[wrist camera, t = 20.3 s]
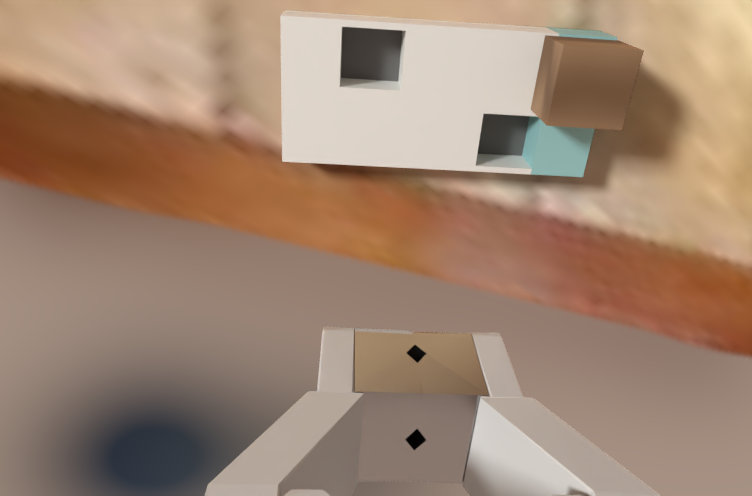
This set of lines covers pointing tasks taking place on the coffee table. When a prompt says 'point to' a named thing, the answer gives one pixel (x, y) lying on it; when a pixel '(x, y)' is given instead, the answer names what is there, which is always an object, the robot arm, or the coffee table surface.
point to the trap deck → (420, 95)
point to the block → (585, 82)
